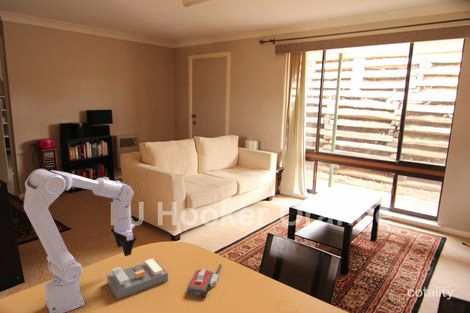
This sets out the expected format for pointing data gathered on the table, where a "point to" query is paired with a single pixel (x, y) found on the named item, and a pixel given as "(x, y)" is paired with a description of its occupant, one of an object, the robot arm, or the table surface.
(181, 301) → the table surface
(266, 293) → the table surface
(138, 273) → the orange rectangular block
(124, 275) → the grey bar
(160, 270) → the cream bar
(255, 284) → the table surface
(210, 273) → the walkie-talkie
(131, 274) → the panel
